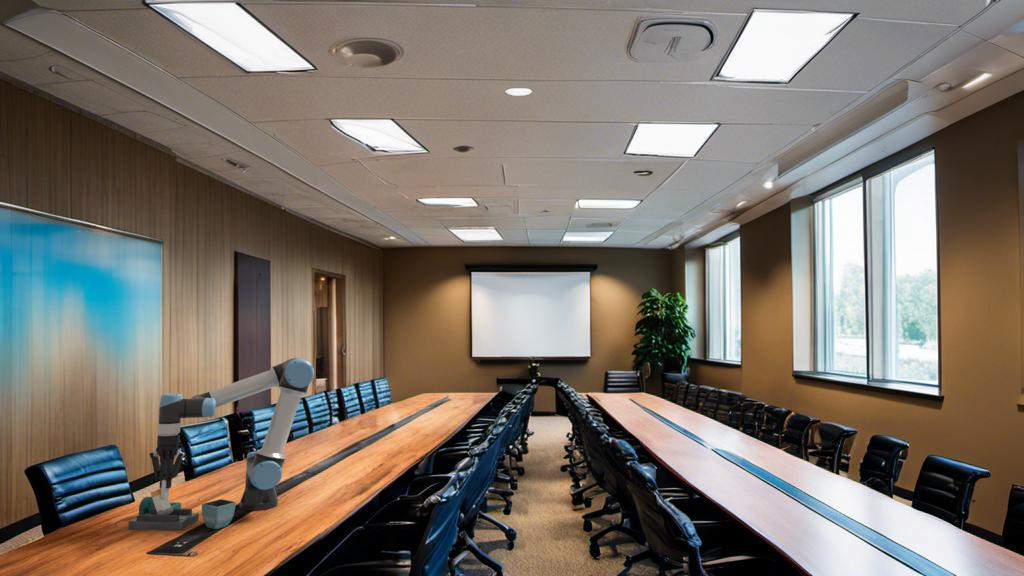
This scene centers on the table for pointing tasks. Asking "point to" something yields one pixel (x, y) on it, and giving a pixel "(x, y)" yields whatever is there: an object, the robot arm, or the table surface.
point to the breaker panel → (164, 523)
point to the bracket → (149, 504)
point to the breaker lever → (161, 503)
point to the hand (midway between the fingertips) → (164, 497)
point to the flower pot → (218, 513)
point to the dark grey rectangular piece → (164, 517)
